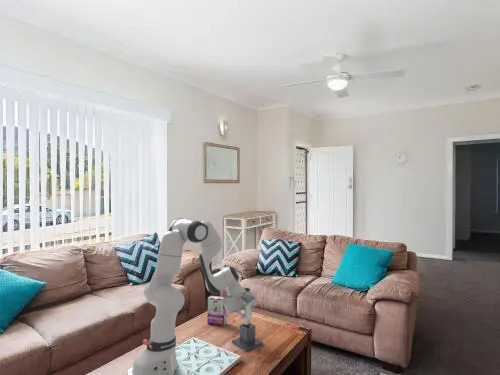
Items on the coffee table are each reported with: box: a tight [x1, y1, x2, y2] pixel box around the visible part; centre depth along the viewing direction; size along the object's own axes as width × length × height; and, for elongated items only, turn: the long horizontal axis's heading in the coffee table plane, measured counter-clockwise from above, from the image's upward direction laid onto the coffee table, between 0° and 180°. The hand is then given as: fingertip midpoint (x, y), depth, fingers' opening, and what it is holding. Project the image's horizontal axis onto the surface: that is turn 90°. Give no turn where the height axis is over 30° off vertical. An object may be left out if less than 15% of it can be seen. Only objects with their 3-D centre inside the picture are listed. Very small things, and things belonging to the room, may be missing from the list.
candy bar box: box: [206, 295, 228, 327], centre depth 202 cm, size 11×5×16 cm, turn 73°
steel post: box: [242, 294, 255, 328], centre depth 177 cm, size 5×5×24 cm
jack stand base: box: [231, 323, 264, 352], centre depth 177 cm, size 12×12×11 cm
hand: (247, 316), depth 177 cm, fingers closed on steel post, 3 cm apart
